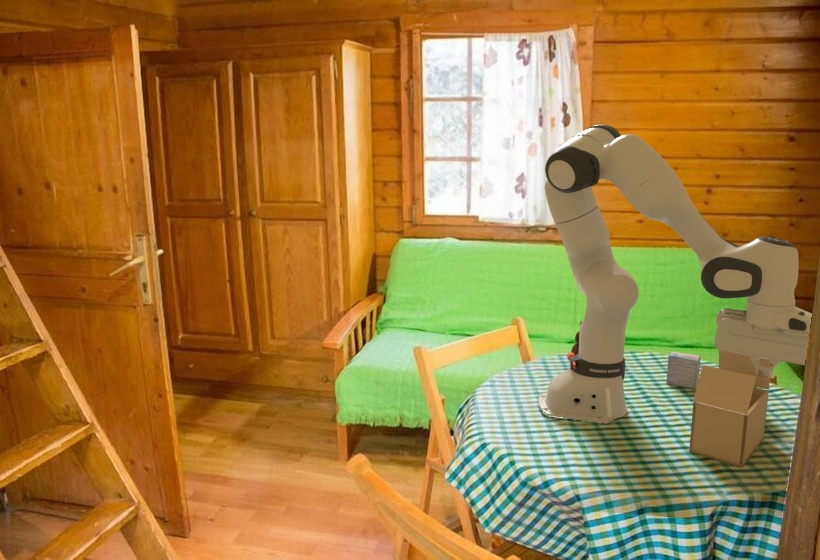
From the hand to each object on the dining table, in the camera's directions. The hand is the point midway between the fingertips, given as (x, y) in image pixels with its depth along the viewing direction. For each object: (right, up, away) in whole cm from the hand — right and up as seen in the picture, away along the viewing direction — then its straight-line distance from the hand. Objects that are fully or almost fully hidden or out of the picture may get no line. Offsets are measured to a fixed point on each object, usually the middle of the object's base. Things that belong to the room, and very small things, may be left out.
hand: (763, 376), depth 139 cm
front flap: (-8, -3, +1) cm, 8 cm away
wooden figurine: (-23, -6, +59) cm, 64 cm away
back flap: (+1, 0, +11) cm, 11 cm away
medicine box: (+1, -9, +44) cm, 45 cm away
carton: (-3, -17, +9) cm, 20 cm away
